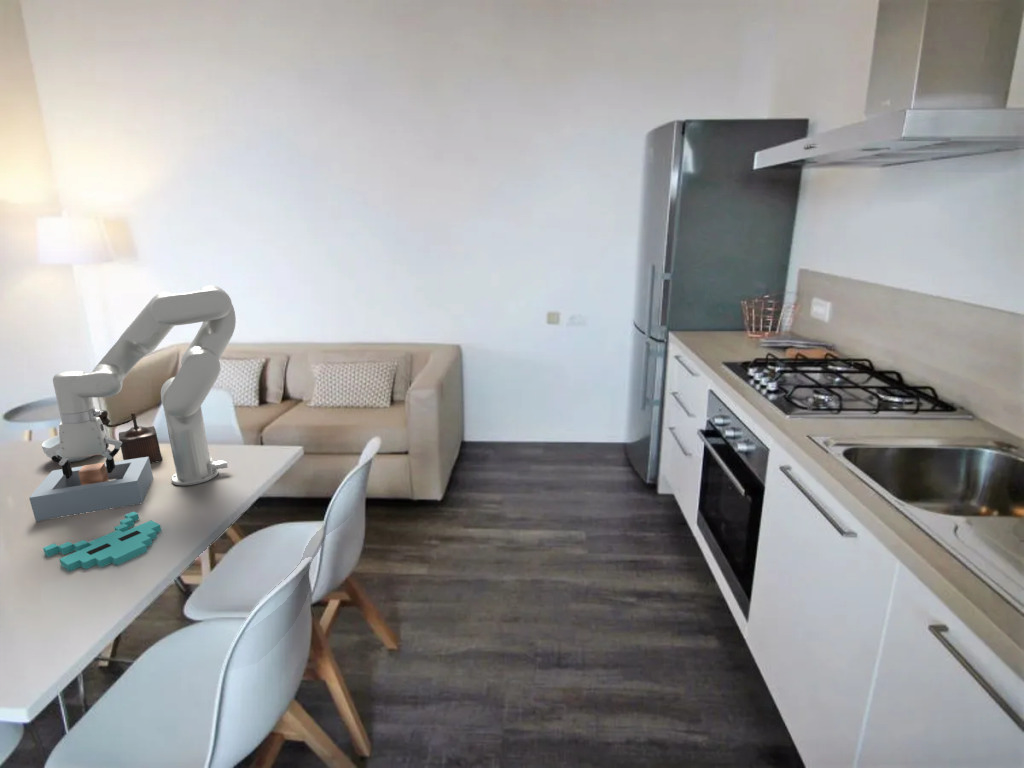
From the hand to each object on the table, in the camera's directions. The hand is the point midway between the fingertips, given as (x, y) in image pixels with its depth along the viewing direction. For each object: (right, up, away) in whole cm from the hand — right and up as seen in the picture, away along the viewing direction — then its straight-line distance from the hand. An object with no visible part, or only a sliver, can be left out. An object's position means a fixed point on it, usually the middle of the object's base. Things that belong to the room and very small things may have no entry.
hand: (90, 473), depth 158 cm
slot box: (+1, -7, +2) cm, 8 cm away
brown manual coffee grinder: (-6, 0, +27) cm, 28 cm away
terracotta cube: (+1, -4, +1) cm, 4 cm away
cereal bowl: (-27, 0, +31) cm, 41 cm away
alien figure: (+21, -15, -21) cm, 33 cm away
